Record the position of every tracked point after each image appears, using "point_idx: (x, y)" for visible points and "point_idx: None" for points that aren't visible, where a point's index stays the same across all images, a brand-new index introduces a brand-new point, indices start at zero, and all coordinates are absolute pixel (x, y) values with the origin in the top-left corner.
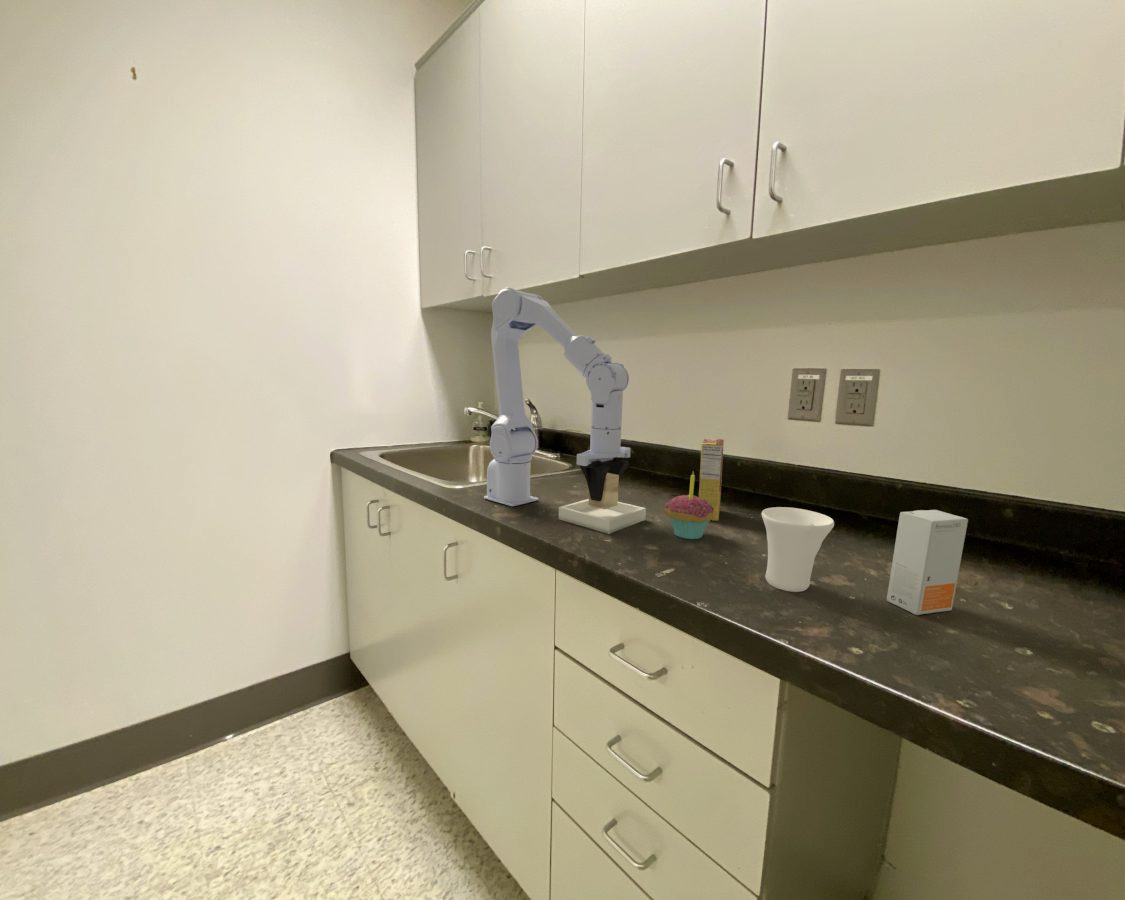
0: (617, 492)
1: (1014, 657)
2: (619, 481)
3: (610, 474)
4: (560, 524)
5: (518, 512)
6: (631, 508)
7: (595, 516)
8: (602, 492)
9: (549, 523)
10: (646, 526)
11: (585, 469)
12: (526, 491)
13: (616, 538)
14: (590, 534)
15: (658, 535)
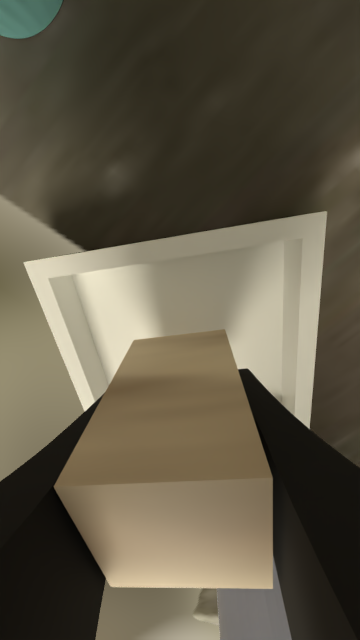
0: (120, 375)
1: None
2: (59, 438)
3: (115, 527)
4: (326, 381)
5: None
6: (70, 316)
7: (312, 300)
8: (246, 392)
9: (341, 403)
10: (103, 195)
11: None
12: None
13: (320, 154)
14: (348, 256)
15: (143, 56)
